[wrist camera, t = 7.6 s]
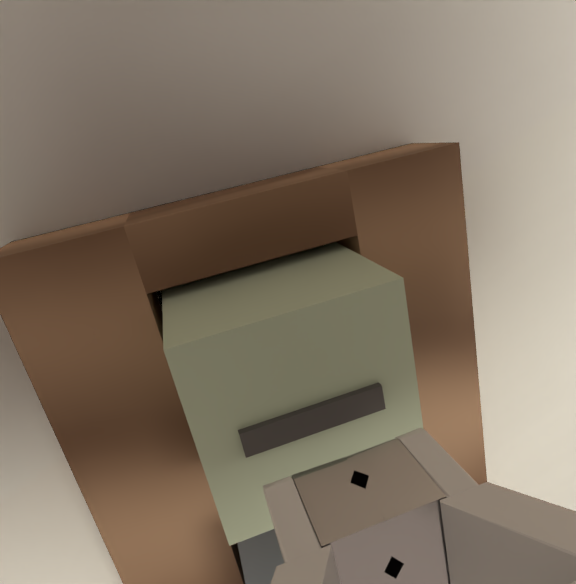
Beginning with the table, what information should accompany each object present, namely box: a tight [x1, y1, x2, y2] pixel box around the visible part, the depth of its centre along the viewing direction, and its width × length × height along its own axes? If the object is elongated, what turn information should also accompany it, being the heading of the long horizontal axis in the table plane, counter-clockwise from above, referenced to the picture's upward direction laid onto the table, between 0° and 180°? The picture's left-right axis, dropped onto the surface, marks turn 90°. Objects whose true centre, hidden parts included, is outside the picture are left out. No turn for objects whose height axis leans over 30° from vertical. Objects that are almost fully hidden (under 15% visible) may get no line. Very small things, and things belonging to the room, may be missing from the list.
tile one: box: [162, 242, 423, 546], centre depth 12 cm, size 5×5×4 cm
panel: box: [0, 143, 487, 584], centre depth 16 cm, size 23×12×2 cm, turn 13°
